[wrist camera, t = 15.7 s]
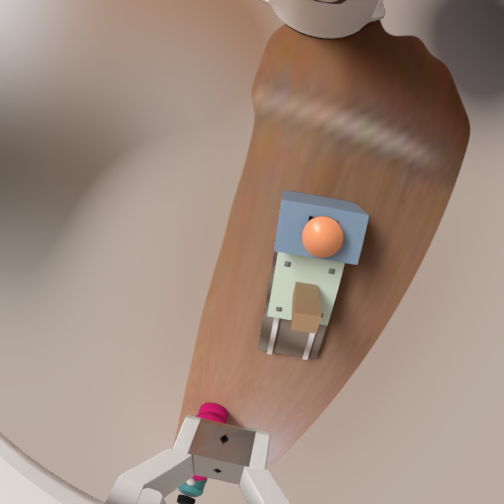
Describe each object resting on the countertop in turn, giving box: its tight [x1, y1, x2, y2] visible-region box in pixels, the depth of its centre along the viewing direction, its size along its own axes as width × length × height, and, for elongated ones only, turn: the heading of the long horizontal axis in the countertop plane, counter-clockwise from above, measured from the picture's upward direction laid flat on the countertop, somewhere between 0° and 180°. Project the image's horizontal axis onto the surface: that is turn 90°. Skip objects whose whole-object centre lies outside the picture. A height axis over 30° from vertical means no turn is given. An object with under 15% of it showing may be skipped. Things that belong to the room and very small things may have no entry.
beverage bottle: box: [177, 479, 207, 504], centre depth 53 cm, size 6×7×20 cm
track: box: [258, 251, 327, 360], centre depth 42 cm, size 20×10×2 cm, turn 173°
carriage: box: [267, 252, 345, 334], centre depth 36 cm, size 10×9×10 cm
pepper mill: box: [186, 403, 228, 486], centre depth 46 cm, size 7×7×20 cm
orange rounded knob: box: [302, 216, 343, 258], centre depth 32 cm, size 4×4×5 cm
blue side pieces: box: [274, 190, 369, 265], centre depth 35 cm, size 6×10×8 cm, turn 83°
